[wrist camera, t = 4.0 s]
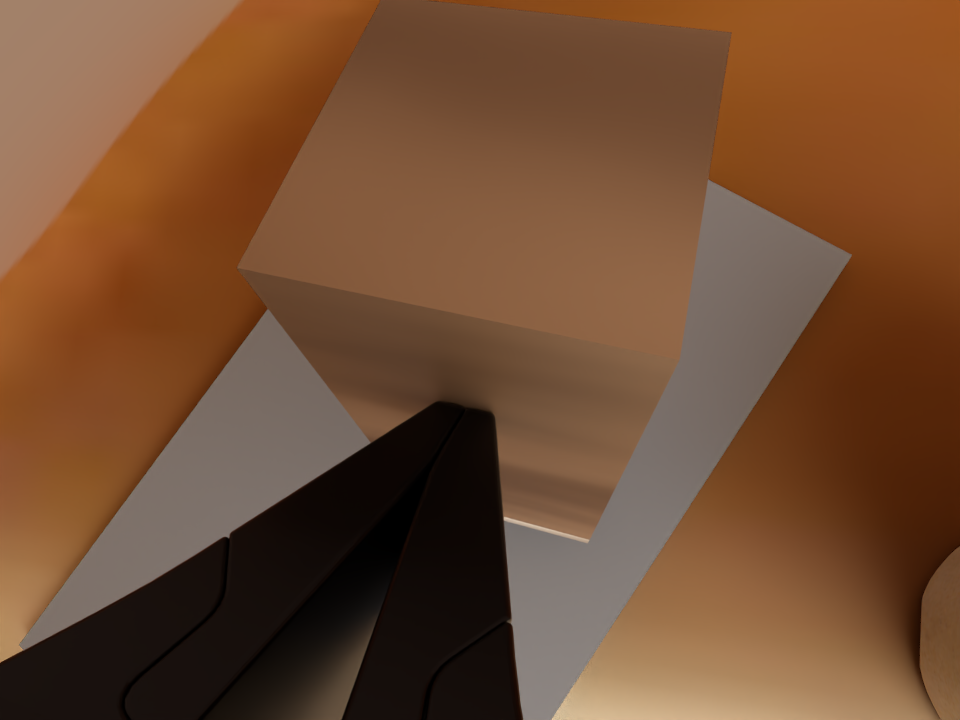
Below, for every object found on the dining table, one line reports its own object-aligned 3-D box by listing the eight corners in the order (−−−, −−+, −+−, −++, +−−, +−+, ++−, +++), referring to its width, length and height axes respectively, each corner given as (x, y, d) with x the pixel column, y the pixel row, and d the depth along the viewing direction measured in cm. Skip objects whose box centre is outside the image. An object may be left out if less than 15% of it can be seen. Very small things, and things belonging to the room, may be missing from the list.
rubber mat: (371, 991, 14) (365, 1005, 14) (31, 641, 18) (18, 645, 17) (845, 260, 16) (851, 255, 16) (462, 58, 19) (460, 49, 19)
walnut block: (587, 543, 14) (679, 360, 5) (411, 495, 15) (236, 267, 6) (621, 377, 16) (730, 32, 7) (462, 342, 17) (383, -5, 8)
